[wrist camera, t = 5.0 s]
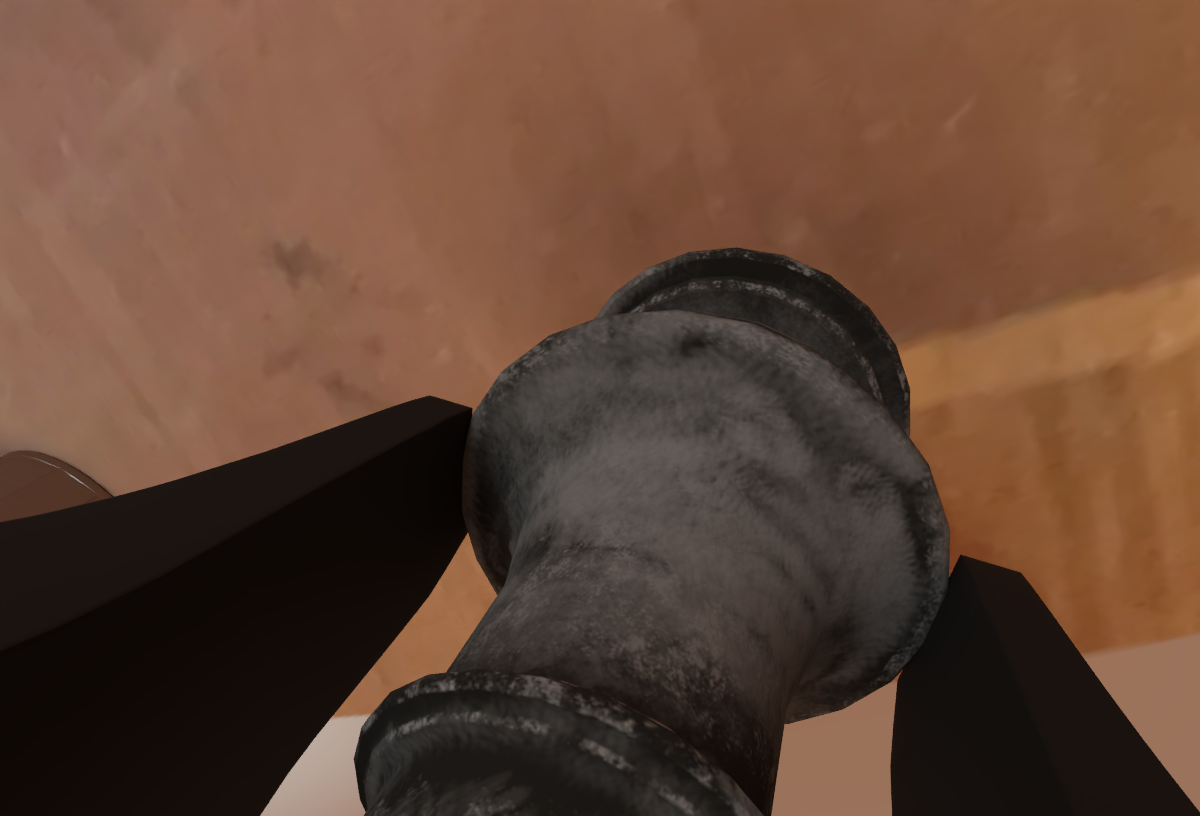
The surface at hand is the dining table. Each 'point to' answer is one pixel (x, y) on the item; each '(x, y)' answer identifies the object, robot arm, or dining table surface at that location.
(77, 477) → the pot
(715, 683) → the chess piece
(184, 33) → the dining table surface
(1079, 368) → the dining table surface
